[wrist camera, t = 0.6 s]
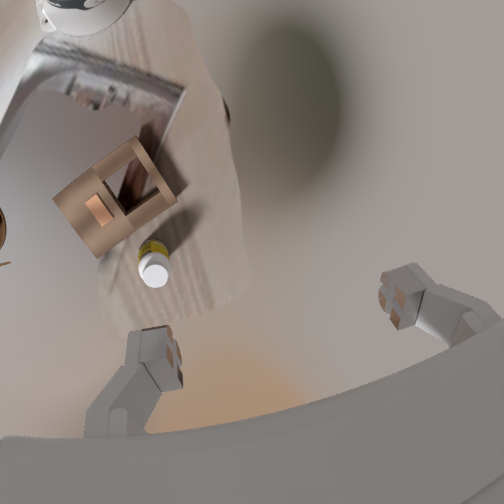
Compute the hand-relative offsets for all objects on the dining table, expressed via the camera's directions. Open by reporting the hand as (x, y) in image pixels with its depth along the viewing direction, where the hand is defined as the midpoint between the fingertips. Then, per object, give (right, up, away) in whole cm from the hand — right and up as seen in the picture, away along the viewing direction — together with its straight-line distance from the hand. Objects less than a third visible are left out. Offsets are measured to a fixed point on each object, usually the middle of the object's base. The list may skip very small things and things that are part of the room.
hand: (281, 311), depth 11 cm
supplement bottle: (-19, +2, +45) cm, 49 cm away
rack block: (-24, +12, +39) cm, 47 cm away
